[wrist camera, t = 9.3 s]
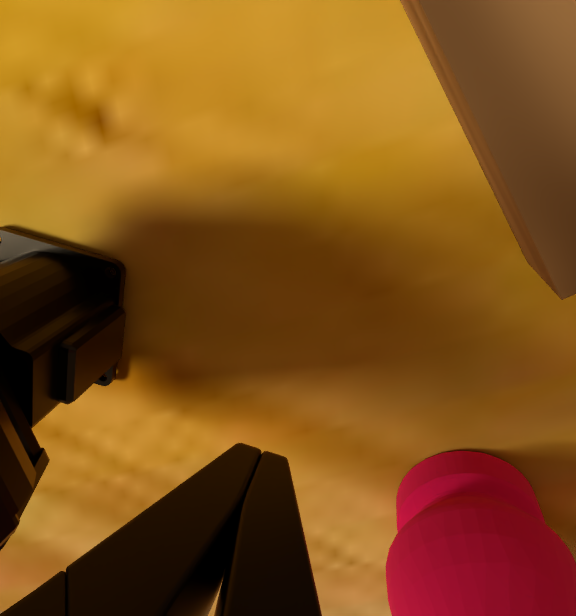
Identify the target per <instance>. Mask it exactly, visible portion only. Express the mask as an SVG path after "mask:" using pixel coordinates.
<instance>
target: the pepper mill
mask: <svg viewBox="0 0 576 616" xmlns="http://www.w3.org/2000/svg"><path fill="white" fill-rule="evenodd" d="M396 507H397V530H398V534H397V535H396V537H395V539H394V541H393V543H392V545H391V546H390V548H389V553H388V557H387V563H386V581H387V592H388V601H389V606H390V610H391V614H392V616H576V563H575V560H574V558H573V556H572V554H571V552H570V551H569V549H568V547H567V546H566V545H565V543H564V542H563V541H562V540H561V538H560V537H559V536H558V535H557V534H556V533H555V532H554V531H553V530H552V529H551V528H550V527H548V526H547V525H546V524H545V521H544V518H543V514H542V512H541V509H540V507H539V504H538V501H537V499H536V496H535V493H534V491H533V489H532V487H531V485H530V483H529V482H528V480H527V479H526V478H525V477H524V476H523V474H522V473H521V472H519V471H518V470H517V469H516V468H515V467H513V466H512V465H510V464H509V463H507V462H505V461H503V460H501V459H499V458H497V457H494V456H491V455H488V454H485V453H480V452H471V451H453V452H445V453H441V454H438V455H435V456H432V457H429V458H427V459H425V460H424V461H422V462H420V463H419V464H417V465H416V466H414V467H413V468H412V469H411V470H410V471H409V472H408V473H407V475H406V476H405V477H404V478H403V480H402V482H401V484H400V486H399V489H398V493H397V502H396Z"/></svg>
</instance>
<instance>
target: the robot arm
mask: <svg viewBox="0 0 576 616" xmlns="http://www.w3.org/2000/svg"><path fill="white" fill-rule="evenodd" d="M0 237H1V240H2V242H1V241H0V550H1V549H2V548H3V547H4V545H5V544H6V542H7V541H8V539H9V538H10V536H11V535H12V534H13V533H14V532H15V530H16V528H17V527H18V525H19V522H20V517H21V515H22V513H23V511H24V509H25V507H26V505H27V503H28V502H29V500H30V498H31V496H32V494H33V492H34V490H35V488H36V486H37V484H38V482H39V480H40V478H41V476H42V474H43V472H44V470H45V469H46V467H47V465H48V463H49V458H48V456H47V453H46V451H45V449H44V448H40V446H39V444H38V442H37V440H36V437H35V435H34V433H33V431H32V429H31V428H33V427H34V426H35V425H36V424H37V423H38V422H39V421H40V420H42V419H43V418H44V417H45V416H46V415H47V414H48V413H49V412H50V411H52V410H53V409H54V408H55V407H56V406H57V405H58V404H59V403H65V404H70V403H72V402H73V401H75V400H76V399H77V398H78V397H79V396H81V395H82V394H83V393H84V392H85V391H86V390H87V389H88V388H89V387H90V386H91V385H92V384H93V383H95V384H98V385H101V386H107V385H109V384H110V383H111V382H112V381H113V380H114V379H115V377H116V370H117V361H118V360H119V359H120V358H121V356H122V346H123V336H124V326H125V316H126V313H125V310H124V308H123V307H122V306H123V295H124V284H125V274H126V272H125V267H124V265H123V264H122V263H121V262H120V261H118V260H116V259H113V258H109V257H106V256H102V255H99V254H95V253H92V252H88V251H85V250H81V249H78V248H74V247H71V246H68V245H64V244H61V243H57V242H54V241H50V240H47V239H43V238H40V237H36V236H33V235H29V234H26V233H22V232H19V231H15V230H12V229H9V228H5V227H0ZM110 267H112V268H113V269H114V270H115V271H116V275H113V274H112V273H111V272H110ZM103 374H105V375H106V376H107V377H105V376H103ZM222 580H223V581H222ZM221 583H222V585H221ZM220 586H221V589H220V593H219V597H218V601H217V605H216V610H215V614H214V616H322V614H321V609H320V605H319V600H318V596H317V591H316V586H315V582H314V577H313V573H312V568H311V564H310V559H309V554H308V550H307V545H306V541H305V536H304V532H303V527H302V522H301V518H300V513H299V509H298V504H297V500H296V495H295V490H294V486H293V481H292V477H291V472H290V467H289V463H288V460H287V458H286V457H284V456H281V455H278V454H275V453H272V452H268V451H264V452H263V453H262V454H261V450H260V449H259V448H256V447H253V446H249V445H246V444H243V443H237V444H235V445H234V446H233V447H231V448H230V449H228V450H227V451H226V452H224V453H223V454H222V455H220V456H219V457H217V458H216V459H215V460H213V461H212V462H211V463H209V464H208V465H206V466H205V467H204V468H202V469H201V470H200V471H198V472H197V473H195V474H194V475H193V476H191V477H190V478H189V479H187V480H186V481H185V482H183V483H182V484H180V485H179V486H178V487H176V488H175V489H174V490H172V491H171V492H169V493H168V494H167V495H165V496H164V497H163V498H161V499H160V500H158V501H157V502H156V503H154V504H153V505H152V506H150V507H149V508H147V509H146V510H145V511H143V512H142V513H141V514H139V515H138V516H136V517H135V518H134V519H132V520H131V521H130V522H128V523H127V524H125V525H124V526H123V527H121V528H120V529H119V530H117V531H116V532H114V533H113V534H112V535H110V536H109V537H108V538H106V539H105V540H103V541H102V542H101V543H99V544H98V545H97V546H95V547H94V548H92V549H91V550H90V551H88V552H87V553H86V554H84V555H83V556H81V557H80V558H79V559H77V560H76V561H75V562H73V563H72V564H70V565H69V566H68V567H67V568H66V573H65V572H64V571H60V572H59V573H57V574H56V575H55V576H53V577H52V578H51V579H49V580H48V581H47V582H45V583H44V584H43V585H41V586H40V587H38V588H37V589H36V590H34V591H33V592H31V593H30V594H28V595H27V596H26V597H24V598H23V599H21V600H20V601H18V602H17V603H15V604H14V605H13V606H11V607H10V608H8V609H7V610H5V611H4V612H2V613H1V614H0V616H208V614H209V611H210V609H211V607H212V605H213V603H214V600H215V598H216V596H217V593H218V591H219V588H220Z"/></svg>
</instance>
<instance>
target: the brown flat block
mask: <svg viewBox="0 0 576 616" xmlns="http://www.w3.org/2000/svg"><path fill="white" fill-rule="evenodd" d="M400 1H401V3H402V5H403V7H404V9H405V11H406V13H407V15H408V17H409V19H410V22H411V24H412V26H413V28H414V30H415V32H416V34H417V36H418V38H419V40H420V42H421V44H422V46H423V48H424V50H425V52H426V54H427V57H428V59H429V61H430V63H431V65H432V67H433V69H434V71H435V73H436V75H437V77H438V79H439V81H440V83H441V85H442V87H443V89H444V92H445V94H446V96H447V98H448V100H449V102H450V104H451V106H452V108H453V110H454V112H455V114H456V116H457V118H458V120H459V122H460V124H461V126H462V129H463V131H464V133H465V135H466V137H467V139H468V141H469V143H470V145H471V147H472V149H473V151H474V153H475V155H476V157H477V159H478V161H479V164H480V166H481V168H482V170H483V172H484V174H485V176H486V178H487V180H488V182H489V184H490V186H491V188H492V190H493V192H494V194H495V196H496V199H497V201H498V203H499V205H500V207H501V209H502V211H503V213H504V215H505V217H506V219H507V221H508V223H509V225H510V227H511V229H512V231H513V233H514V236H515V238H516V240H517V242H518V244H519V246H520V248H521V250H522V252H523V254H524V256H525V258H526V260H527V262H528V264H529V265H530V266H531V267H532V268H533V269H534V270H535V271H536V272H537V273H538V274H539V276H540V277H541V278H542V279H543V280H544V281H545V282H546V283H547V284H548V285H549V286H550V288H551V289H552V290H553V291H554V292H555V293H556V294H557V295H558V296H559V297H560V298H561V300H563V299H565V298H567V297H570V296H572V295H574V294H576V0H400Z"/></svg>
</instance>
